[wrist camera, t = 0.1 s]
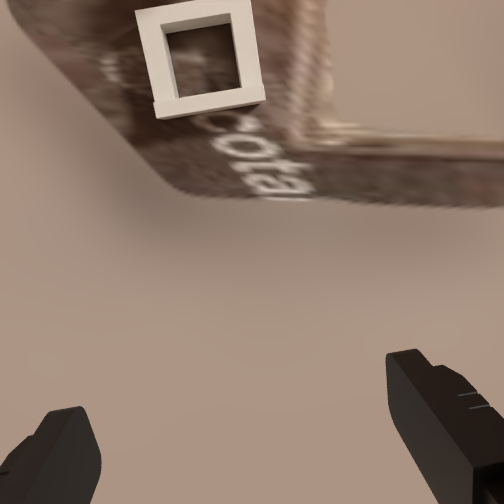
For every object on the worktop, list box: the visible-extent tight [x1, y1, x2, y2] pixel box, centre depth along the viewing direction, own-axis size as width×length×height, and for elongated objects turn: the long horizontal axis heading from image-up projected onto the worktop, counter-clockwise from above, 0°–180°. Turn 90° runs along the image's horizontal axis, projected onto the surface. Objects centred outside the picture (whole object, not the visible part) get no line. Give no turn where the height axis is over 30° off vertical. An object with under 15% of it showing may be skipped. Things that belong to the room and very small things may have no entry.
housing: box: [135, 0, 266, 120], centre depth 32 cm, size 8×9×4 cm
